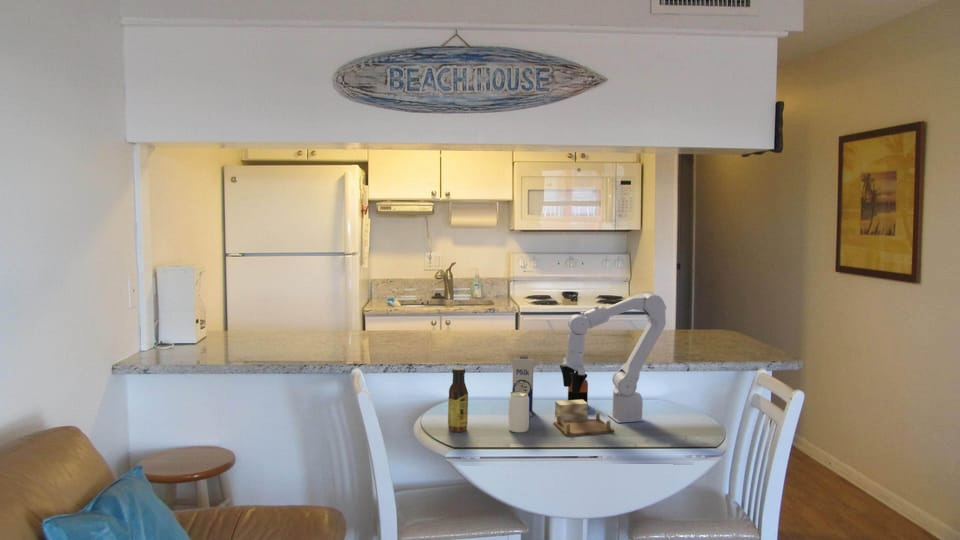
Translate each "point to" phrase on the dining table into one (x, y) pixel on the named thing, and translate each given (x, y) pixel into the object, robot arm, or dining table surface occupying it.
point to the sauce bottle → (458, 402)
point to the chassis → (583, 426)
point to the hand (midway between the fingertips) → (571, 389)
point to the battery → (582, 394)
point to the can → (518, 412)
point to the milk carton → (524, 378)
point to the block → (571, 409)
